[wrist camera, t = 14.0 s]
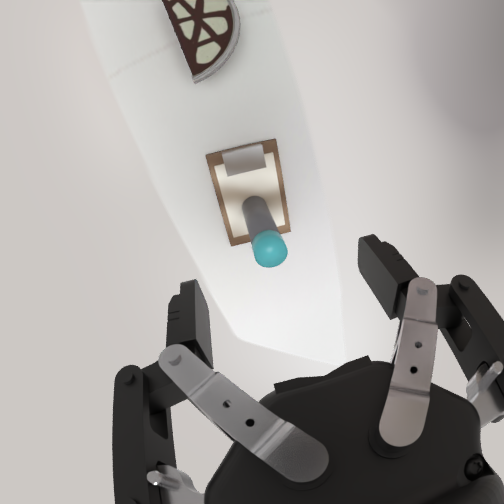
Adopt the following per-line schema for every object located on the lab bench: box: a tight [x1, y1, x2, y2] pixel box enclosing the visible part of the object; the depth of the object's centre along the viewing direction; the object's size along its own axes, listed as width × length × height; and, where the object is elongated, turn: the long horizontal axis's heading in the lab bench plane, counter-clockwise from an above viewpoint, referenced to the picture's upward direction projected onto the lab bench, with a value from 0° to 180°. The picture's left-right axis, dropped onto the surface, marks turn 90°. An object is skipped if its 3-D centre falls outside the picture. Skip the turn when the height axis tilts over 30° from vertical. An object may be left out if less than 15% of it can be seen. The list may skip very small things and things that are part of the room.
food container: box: [162, 0, 240, 84], centre depth 22 cm, size 12×6×10 cm, turn 18°
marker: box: [242, 196, 288, 267], centre depth 35 cm, size 4×4×11 cm
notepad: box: [206, 139, 291, 246], centre depth 39 cm, size 14×9×2 cm, turn 11°
